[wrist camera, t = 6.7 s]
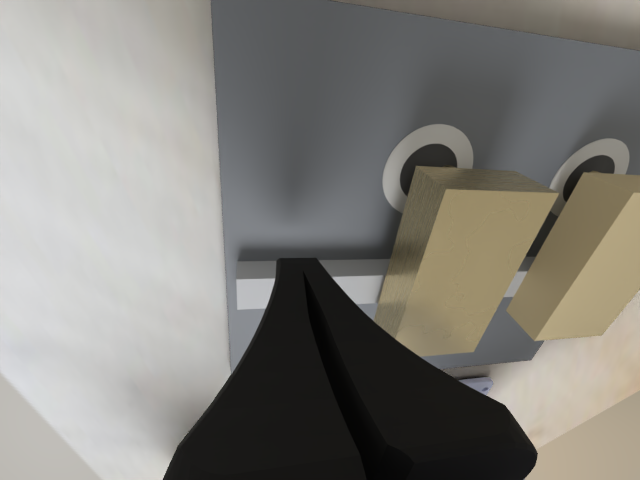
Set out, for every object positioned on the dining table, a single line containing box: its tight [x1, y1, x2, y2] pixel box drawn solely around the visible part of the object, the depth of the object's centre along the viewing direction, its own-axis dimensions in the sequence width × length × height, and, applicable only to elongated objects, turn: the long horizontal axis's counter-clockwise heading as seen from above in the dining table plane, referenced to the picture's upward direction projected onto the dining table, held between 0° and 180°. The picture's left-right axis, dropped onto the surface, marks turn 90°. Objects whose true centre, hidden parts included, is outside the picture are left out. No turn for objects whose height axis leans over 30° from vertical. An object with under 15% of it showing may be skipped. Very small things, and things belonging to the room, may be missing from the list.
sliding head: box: [374, 165, 559, 357], centre depth 13 cm, size 8×4×3 cm, turn 173°
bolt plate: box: [211, 0, 640, 374], centre depth 14 cm, size 18×20×4 cm
